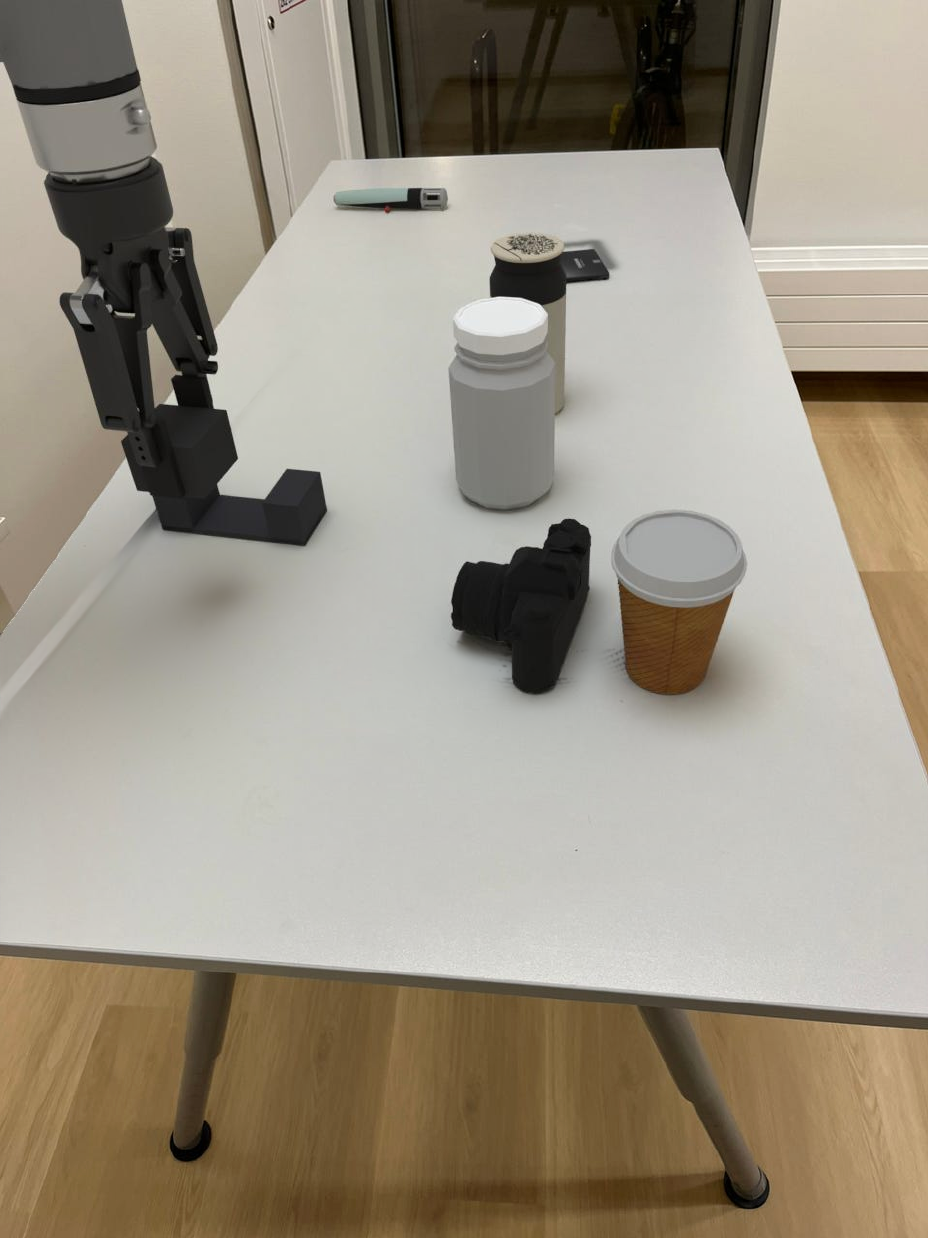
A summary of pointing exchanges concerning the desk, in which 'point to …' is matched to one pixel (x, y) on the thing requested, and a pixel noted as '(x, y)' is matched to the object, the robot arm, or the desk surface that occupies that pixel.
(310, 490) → the notched block
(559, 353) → the travel mug
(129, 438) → the robot arm
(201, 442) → the small block
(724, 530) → the disposable coffee cup
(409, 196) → the teal pen-shaped device
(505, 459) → the jar
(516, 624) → the film camera
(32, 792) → the desk surface
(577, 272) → the solid state drive
